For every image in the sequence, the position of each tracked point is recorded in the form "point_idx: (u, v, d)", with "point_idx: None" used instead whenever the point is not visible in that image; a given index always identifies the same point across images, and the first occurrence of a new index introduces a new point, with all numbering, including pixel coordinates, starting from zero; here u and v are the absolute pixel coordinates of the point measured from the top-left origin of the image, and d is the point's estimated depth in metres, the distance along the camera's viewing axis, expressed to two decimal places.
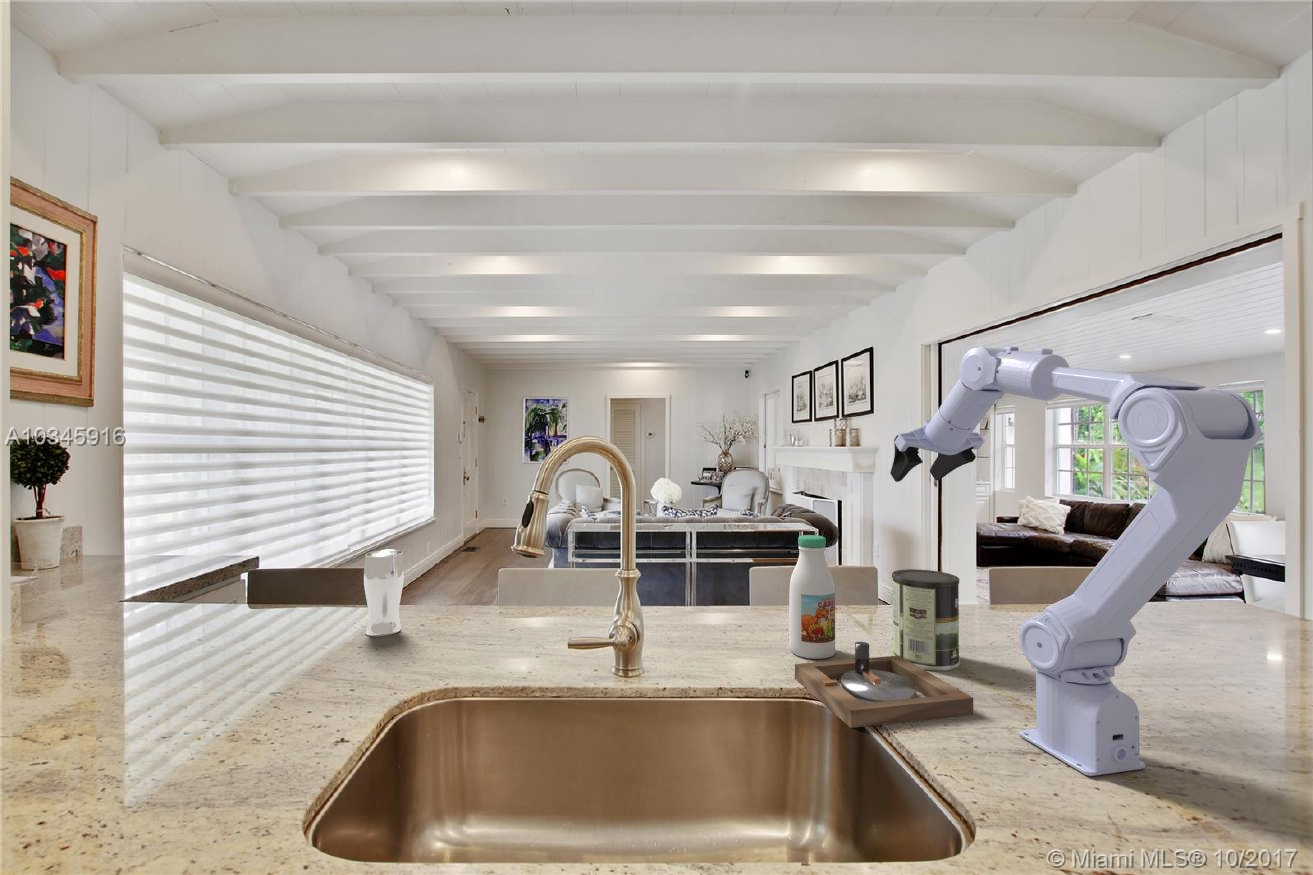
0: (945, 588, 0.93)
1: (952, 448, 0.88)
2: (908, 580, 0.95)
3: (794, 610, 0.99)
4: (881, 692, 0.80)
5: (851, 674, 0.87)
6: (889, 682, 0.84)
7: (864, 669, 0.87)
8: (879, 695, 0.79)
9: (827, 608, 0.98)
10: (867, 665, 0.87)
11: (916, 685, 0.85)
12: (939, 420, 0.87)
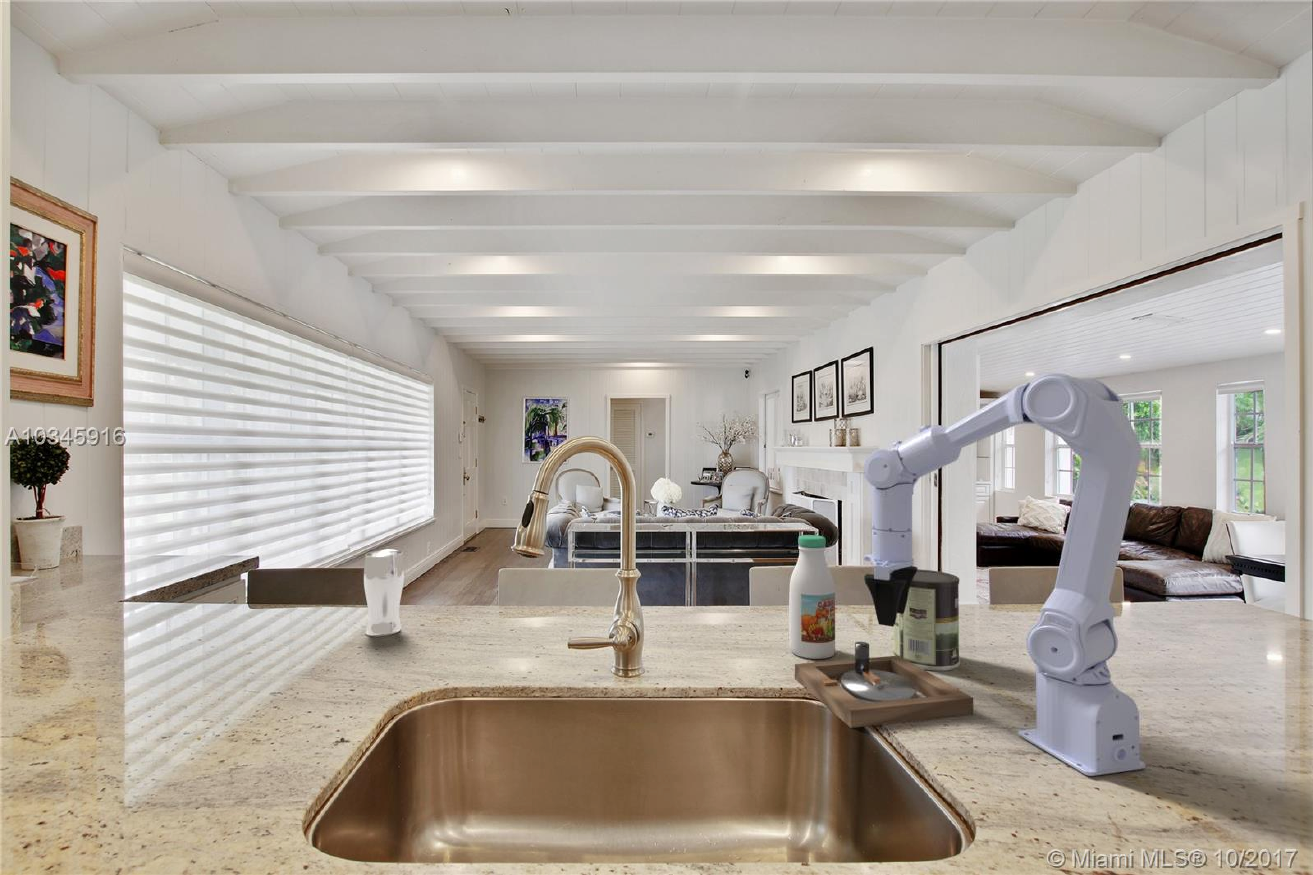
0: (945, 588, 0.93)
1: (911, 557, 0.87)
2: None
3: (794, 610, 0.99)
4: (881, 692, 0.80)
5: (851, 674, 0.87)
6: (889, 682, 0.84)
7: (864, 669, 0.87)
8: (879, 695, 0.79)
9: (827, 608, 0.98)
10: (867, 665, 0.87)
11: (916, 685, 0.85)
12: (888, 535, 0.86)
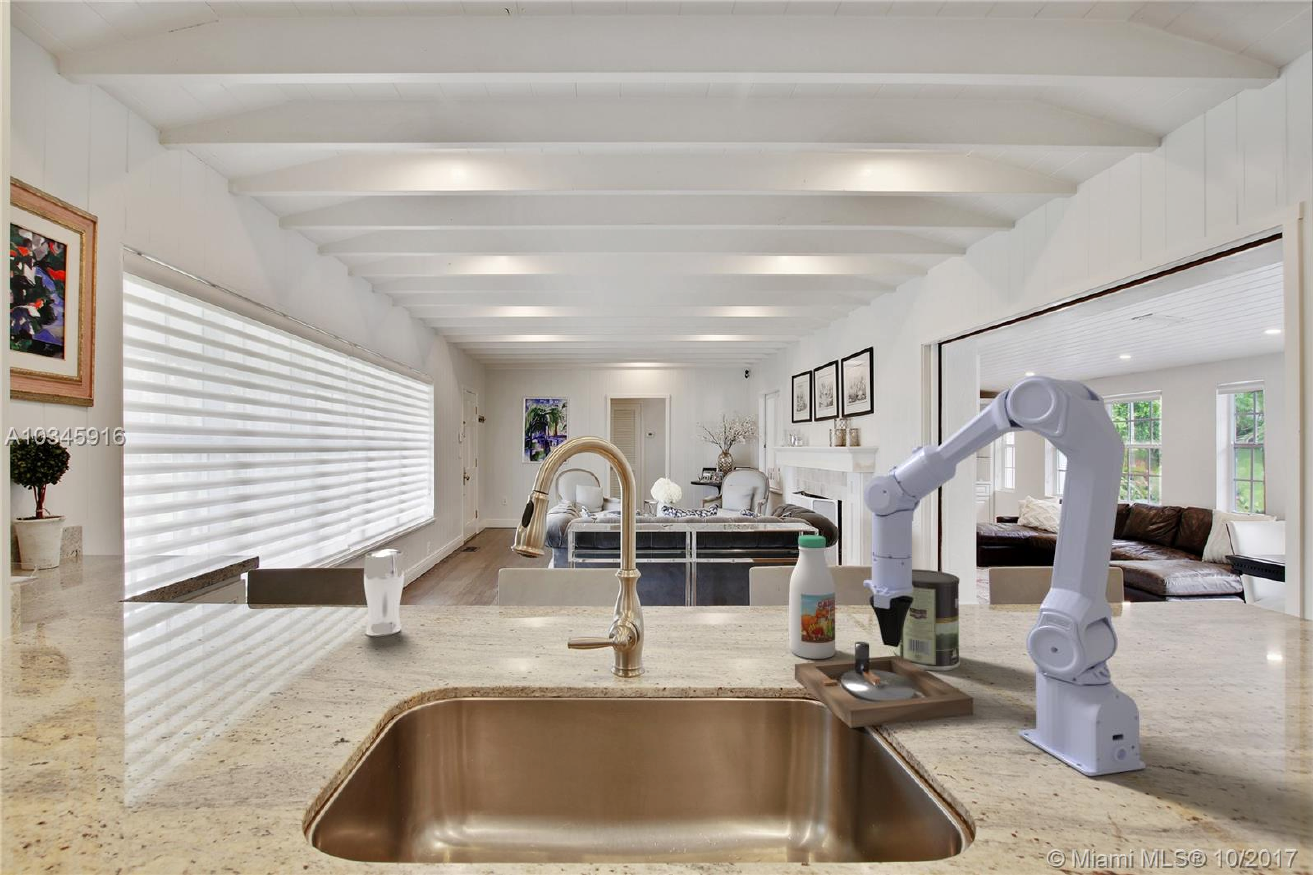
0: (945, 588, 0.93)
1: (911, 583, 0.87)
2: None
3: (794, 610, 0.99)
4: (881, 692, 0.80)
5: (851, 674, 0.87)
6: (889, 682, 0.84)
7: (864, 669, 0.87)
8: (879, 695, 0.79)
9: (827, 608, 0.98)
10: (867, 665, 0.87)
11: (916, 685, 0.85)
12: (888, 562, 0.86)
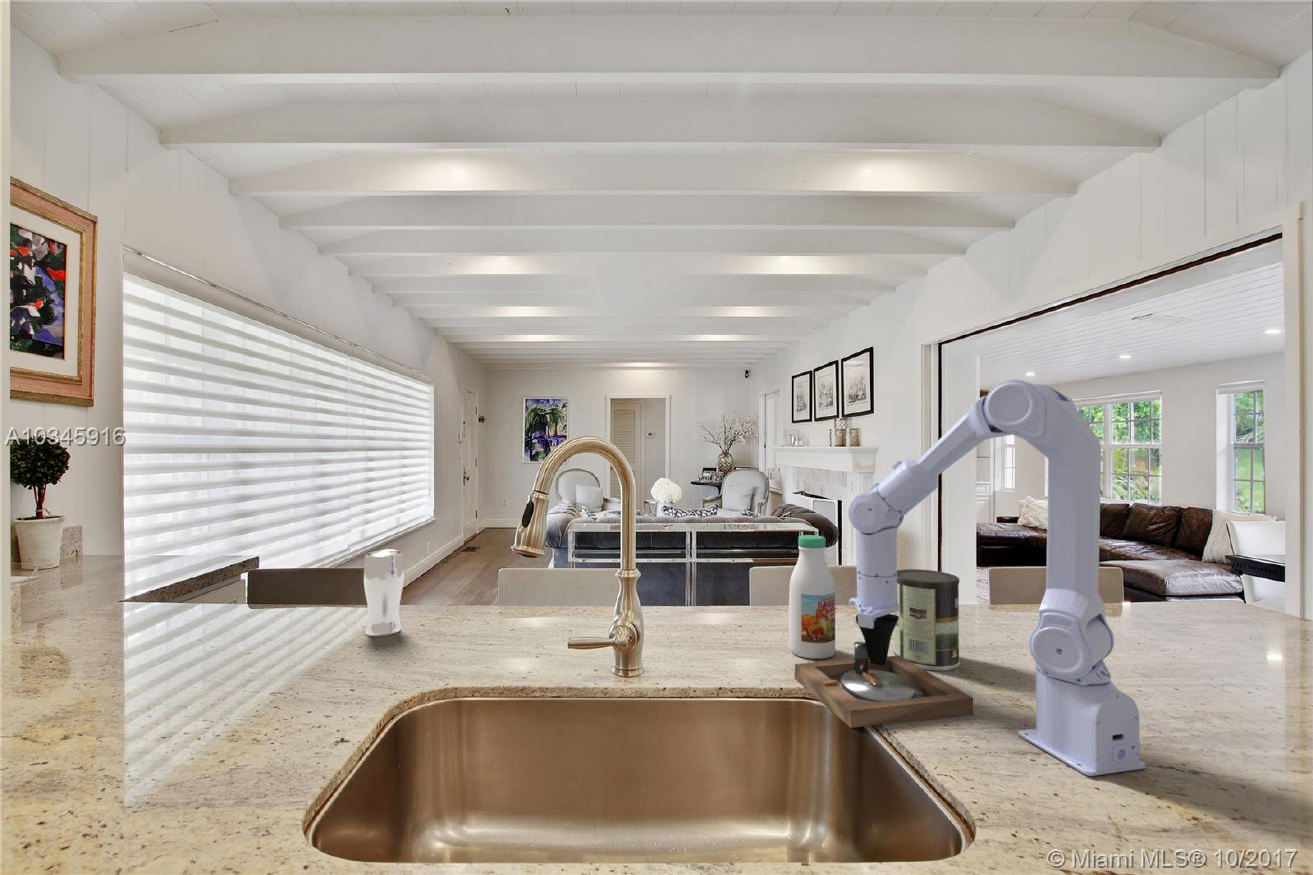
0: (945, 588, 0.93)
1: (896, 602, 0.86)
2: (908, 580, 0.95)
3: (794, 610, 0.99)
4: (882, 692, 0.80)
5: (851, 674, 0.86)
6: (889, 682, 0.84)
7: (864, 669, 0.87)
8: (880, 695, 0.79)
9: (827, 608, 0.98)
10: (866, 665, 0.87)
11: (916, 685, 0.85)
12: (872, 581, 0.86)
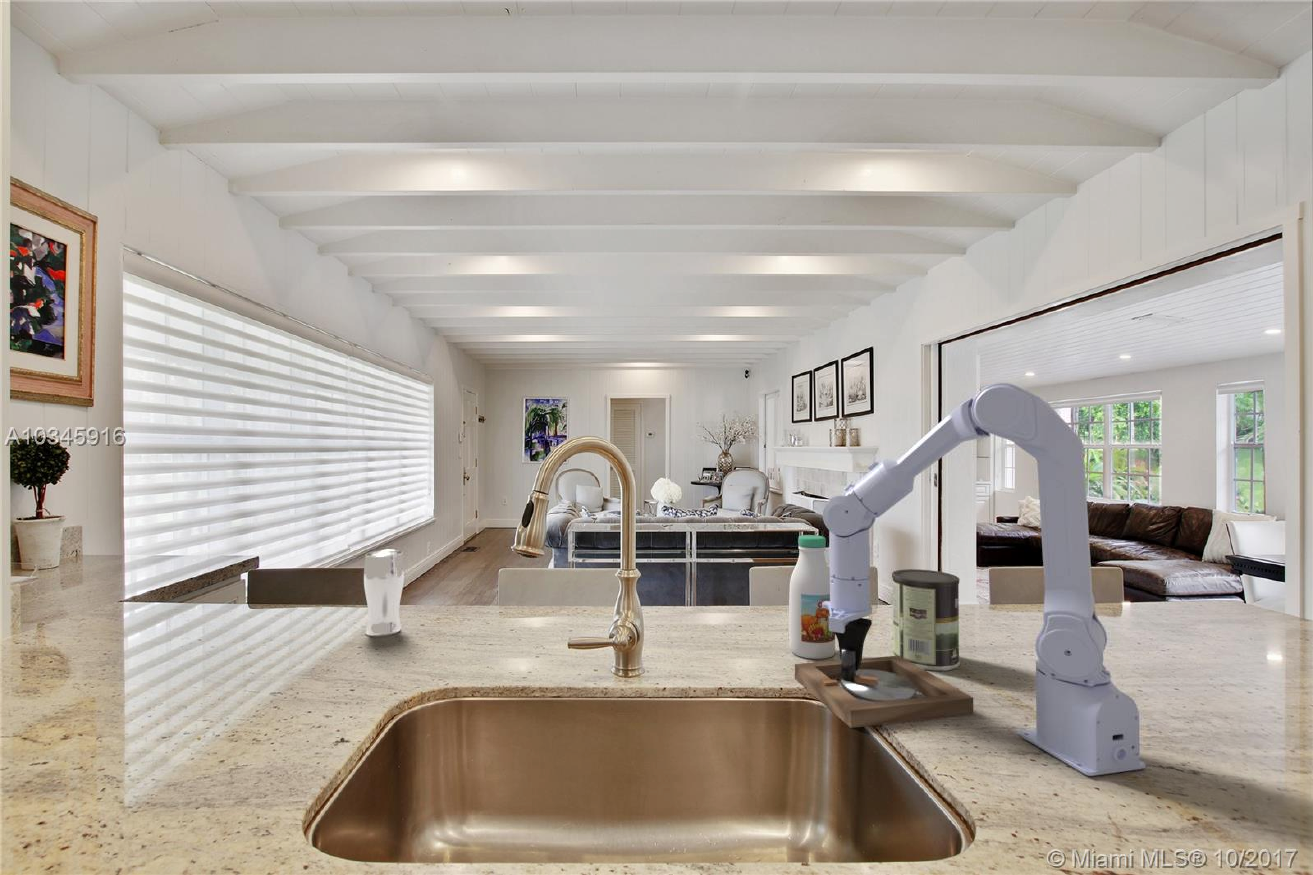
0: (945, 588, 0.93)
1: (869, 605, 0.85)
2: (908, 580, 0.95)
3: (794, 610, 0.99)
4: (900, 689, 0.81)
5: (851, 684, 0.83)
6: (880, 678, 0.85)
7: (855, 674, 0.84)
8: (908, 692, 0.80)
9: None
10: None
11: (916, 685, 0.85)
12: (844, 584, 0.84)
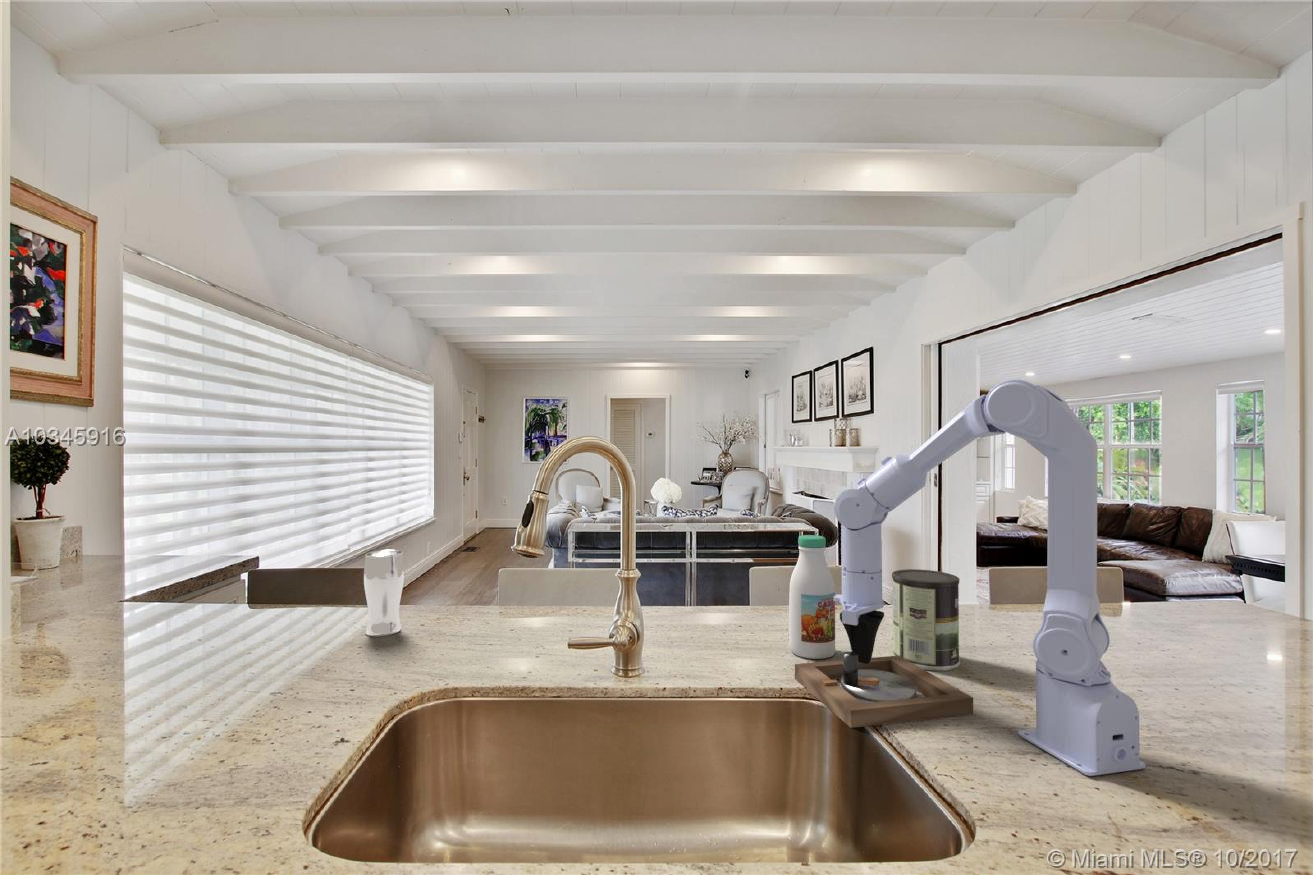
0: (945, 588, 0.93)
1: (881, 598, 0.85)
2: (908, 580, 0.95)
3: (794, 610, 0.99)
4: (902, 685, 0.83)
5: (861, 689, 0.81)
6: (874, 677, 0.85)
7: (858, 678, 0.83)
8: (912, 688, 0.82)
9: (827, 608, 0.98)
10: None
11: (916, 685, 0.85)
12: (857, 577, 0.84)
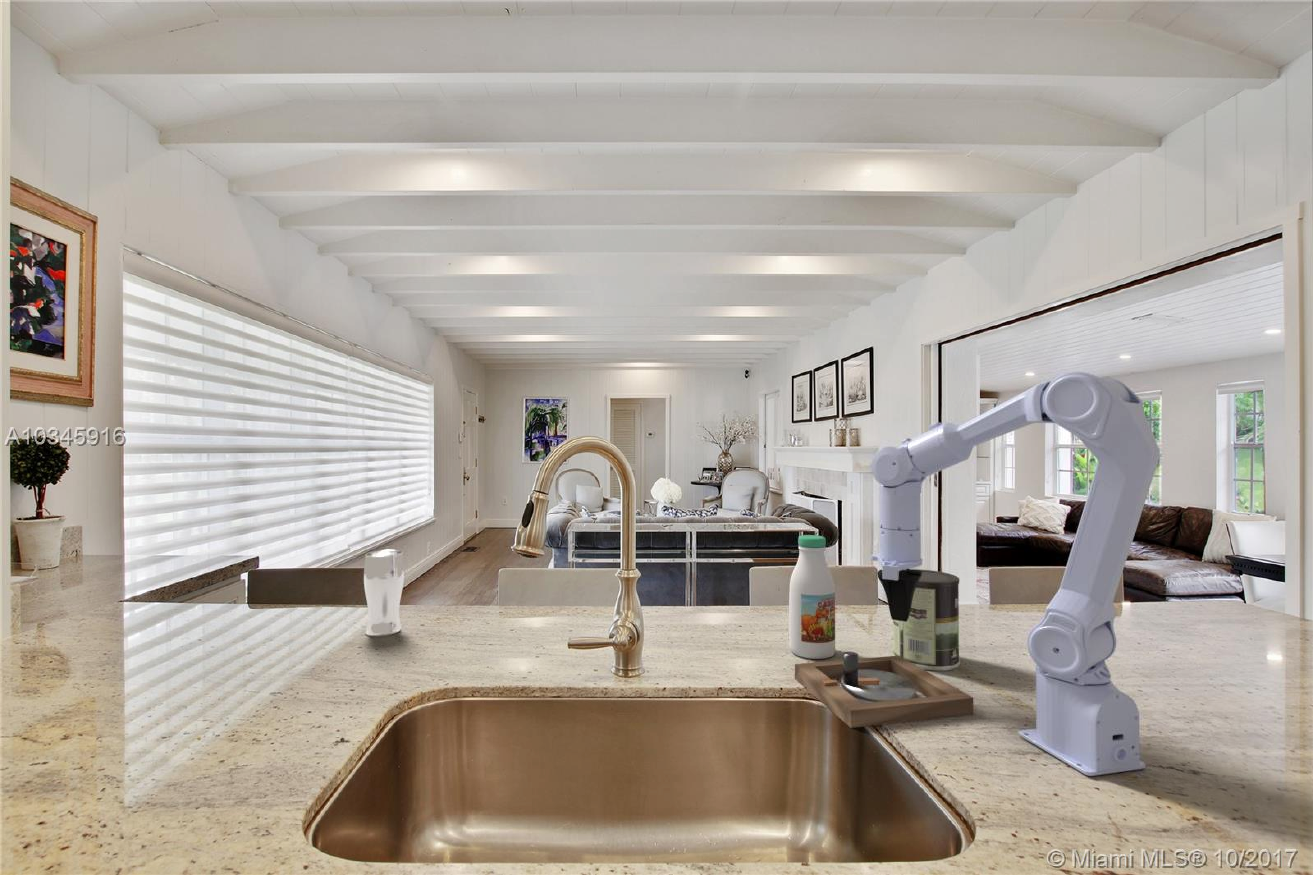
0: (945, 588, 0.93)
1: (919, 556, 0.85)
2: None
3: (794, 610, 0.99)
4: (902, 685, 0.83)
5: (861, 689, 0.81)
6: (874, 677, 0.85)
7: (858, 678, 0.83)
8: (912, 688, 0.82)
9: (827, 608, 0.98)
10: None
11: (916, 685, 0.85)
12: (896, 534, 0.85)
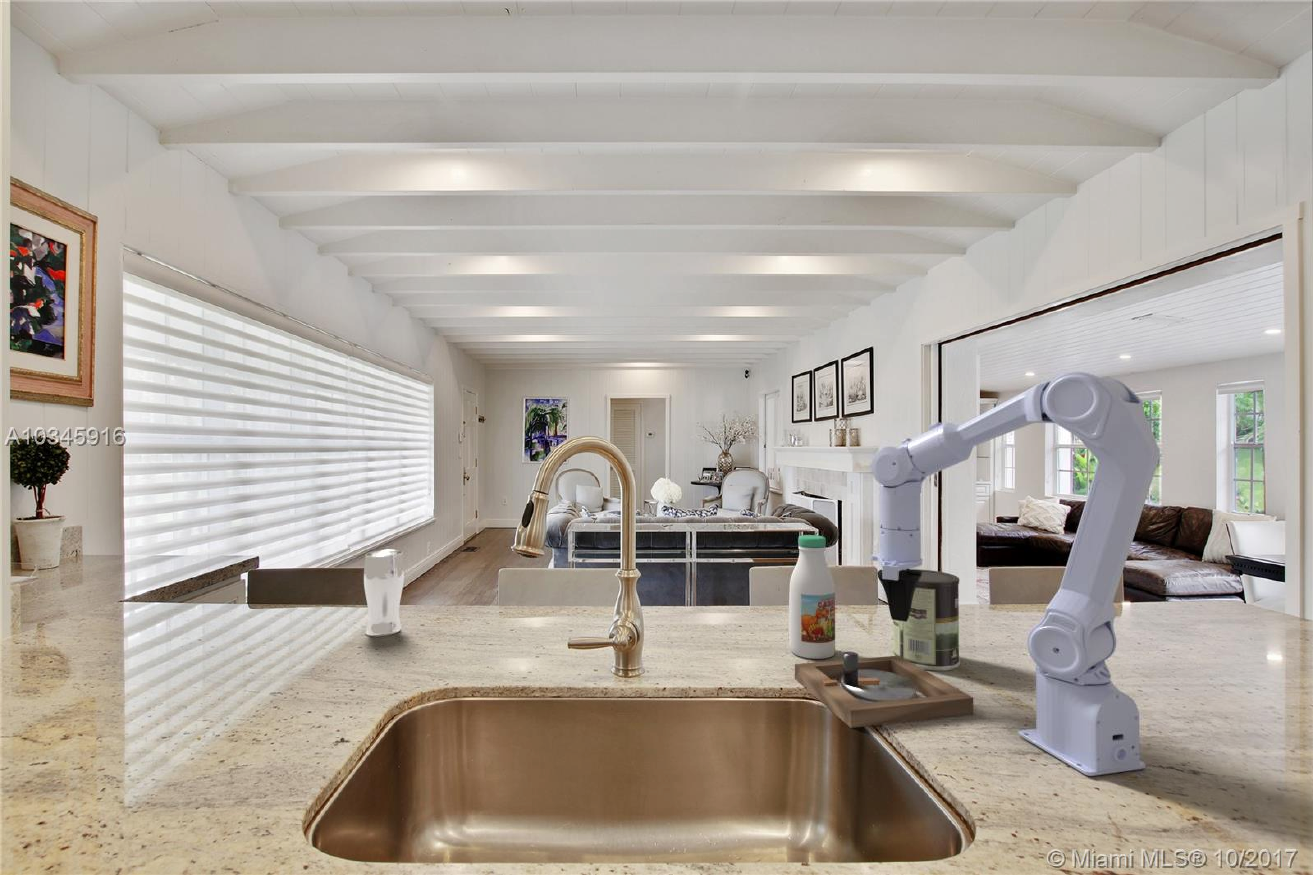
0: (945, 588, 0.93)
1: (919, 556, 0.85)
2: None
3: (794, 610, 0.99)
4: (902, 685, 0.83)
5: (861, 689, 0.81)
6: (874, 677, 0.85)
7: (858, 678, 0.83)
8: (912, 688, 0.82)
9: (827, 608, 0.98)
10: None
11: (916, 685, 0.85)
12: (896, 534, 0.85)
